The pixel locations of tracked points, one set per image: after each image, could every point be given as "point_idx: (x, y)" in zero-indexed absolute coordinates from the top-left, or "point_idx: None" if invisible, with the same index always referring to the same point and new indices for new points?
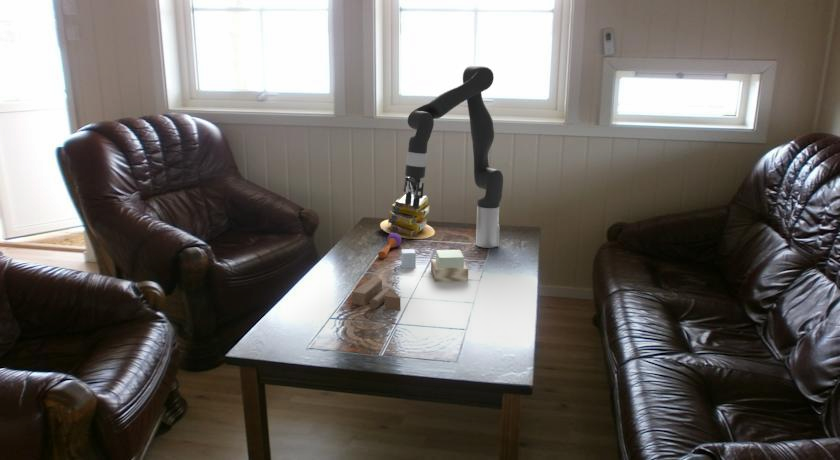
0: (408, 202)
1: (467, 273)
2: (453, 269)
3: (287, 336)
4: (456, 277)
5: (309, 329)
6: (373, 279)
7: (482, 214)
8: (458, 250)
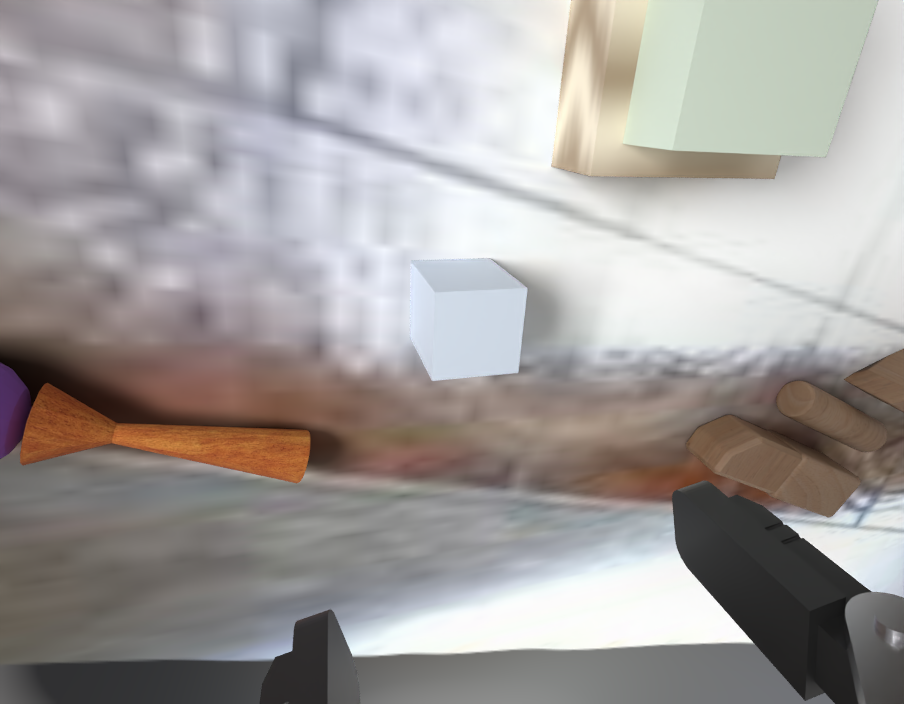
0: (345, 669)
1: None
2: None
3: (894, 583)
4: None
5: (887, 553)
6: (751, 469)
7: None
8: None
